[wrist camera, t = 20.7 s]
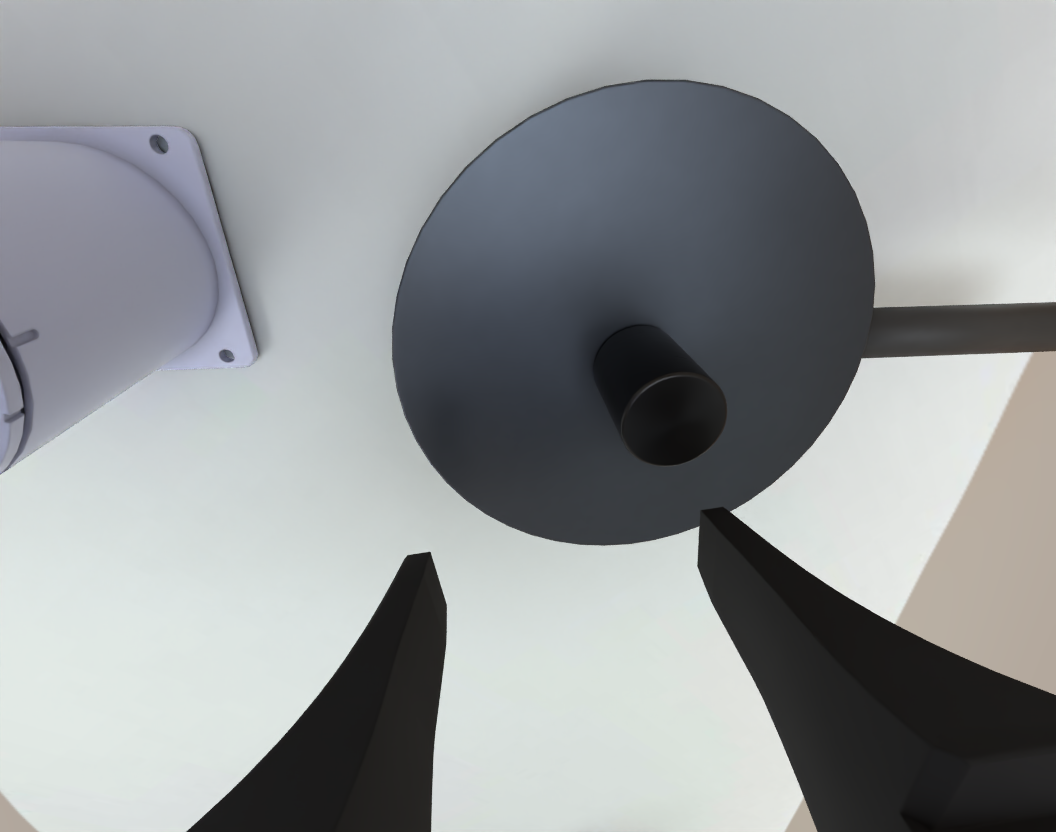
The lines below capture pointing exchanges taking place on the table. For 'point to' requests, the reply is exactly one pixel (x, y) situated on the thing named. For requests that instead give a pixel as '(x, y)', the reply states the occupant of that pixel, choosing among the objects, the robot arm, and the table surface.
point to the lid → (633, 312)
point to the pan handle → (961, 330)
